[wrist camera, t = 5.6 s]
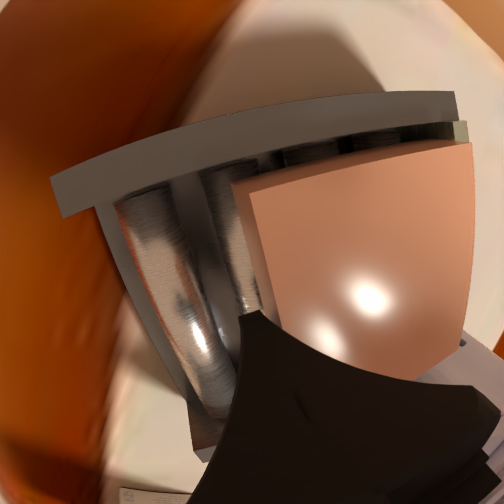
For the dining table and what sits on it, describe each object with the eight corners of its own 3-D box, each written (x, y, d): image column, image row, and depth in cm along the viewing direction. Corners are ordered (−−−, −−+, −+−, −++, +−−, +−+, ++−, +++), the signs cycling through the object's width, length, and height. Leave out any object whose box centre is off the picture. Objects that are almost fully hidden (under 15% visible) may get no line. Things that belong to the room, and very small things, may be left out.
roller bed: (391, 98, 12) (461, 90, 8) (407, 316, 17) (455, 354, 13) (90, 167, 10) (43, 179, 6) (193, 402, 15) (204, 469, 11)
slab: (426, 138, 10) (471, 142, 8) (428, 325, 13) (458, 349, 11) (230, 182, 9) (249, 193, 7) (287, 394, 12) (306, 434, 10)
